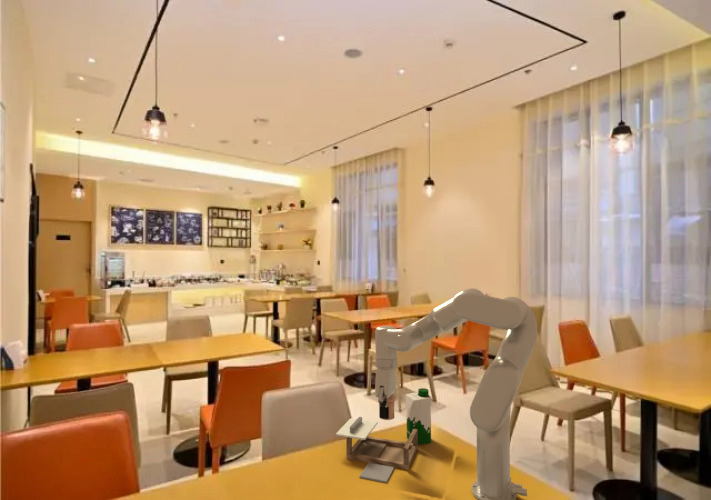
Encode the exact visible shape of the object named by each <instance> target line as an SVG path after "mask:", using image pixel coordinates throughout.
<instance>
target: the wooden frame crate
mask: <svg viewBox="0 0 711 500" xmlns="http://www.w3.org/2000/svg"><path fill="white" fill-rule="evenodd" d="M345 439H346V442H345V443H346V445H345V446H346V459H347V460H351V461H358V462H364V463H367V464H368V463H374V464H379V465H384V466H390V467H394V469H395V468H396V469H401V470H407V471H408V470H409V469H410V466H411V464H412V462H413V460H414V457H415V455H416V452H417V451H418V446H419V445H418V429H413V431H412V433H411V435H410V436H409V438H408V439H407V440H406V442H405V441H400V440H393V439H388V438H387V439H386V438H382V437H375V436H369V435H368V437H367V438H366V439H365V440H361V439H356V440H357V441H356V442H355V443H354V444H353V438H349V437H346V438H345ZM412 441H413V443H412Z"/></svg>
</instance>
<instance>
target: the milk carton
mask: <svg viewBox="0 0 711 500" xmlns="http://www.w3.org/2000/svg"><path fill="white" fill-rule="evenodd" d="M417 391H418V392H411V393H405V403H406V438H407V440H408V438H409V436H410V435H411V433H412V431H413V429H418V446H419V445H425V444H426V445H427V444H432V410H431V409H432V404H433V403H432V401H433V398H432V396H430V394H429V389H428V388H425V387H424V388H423V387H421V388H418V390H417ZM412 443H413V441H412Z"/></svg>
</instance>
